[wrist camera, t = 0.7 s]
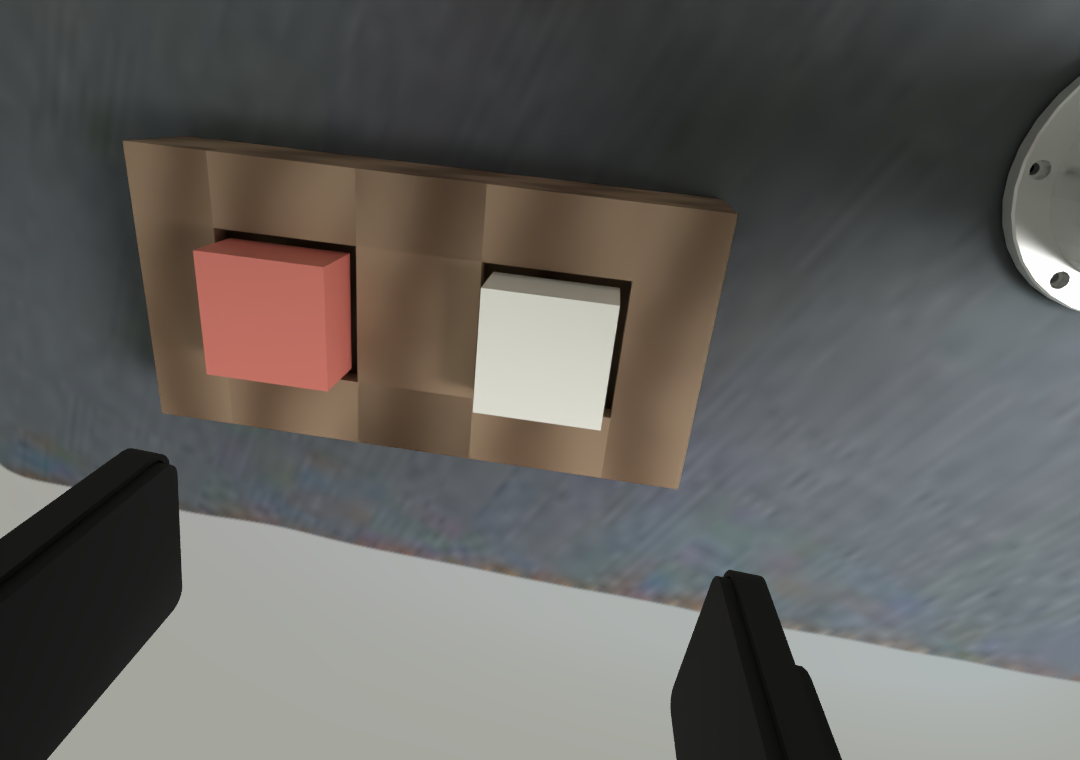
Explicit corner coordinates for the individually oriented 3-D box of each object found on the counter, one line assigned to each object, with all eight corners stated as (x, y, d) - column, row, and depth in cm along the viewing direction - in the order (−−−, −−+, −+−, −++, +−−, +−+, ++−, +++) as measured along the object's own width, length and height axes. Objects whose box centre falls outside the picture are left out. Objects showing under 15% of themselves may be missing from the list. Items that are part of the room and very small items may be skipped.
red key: (349, 253, 31) (323, 267, 28) (351, 368, 34) (327, 391, 31) (230, 237, 32) (192, 250, 29) (240, 352, 34) (206, 374, 31)
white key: (620, 287, 30) (619, 305, 28) (602, 403, 33) (600, 430, 30) (493, 271, 31) (480, 287, 28) (484, 386, 33) (472, 412, 30)
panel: (721, 199, 33) (738, 214, 28) (671, 443, 38) (678, 489, 33) (188, 136, 34) (122, 140, 30) (214, 377, 40) (162, 413, 35)
